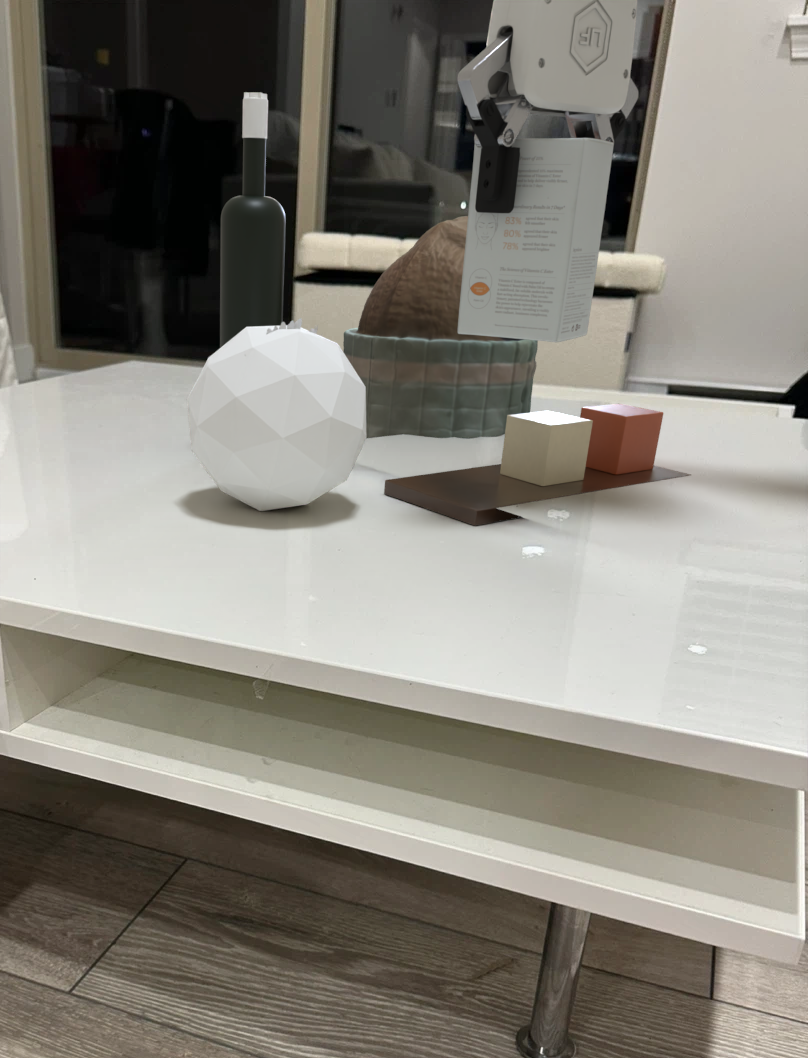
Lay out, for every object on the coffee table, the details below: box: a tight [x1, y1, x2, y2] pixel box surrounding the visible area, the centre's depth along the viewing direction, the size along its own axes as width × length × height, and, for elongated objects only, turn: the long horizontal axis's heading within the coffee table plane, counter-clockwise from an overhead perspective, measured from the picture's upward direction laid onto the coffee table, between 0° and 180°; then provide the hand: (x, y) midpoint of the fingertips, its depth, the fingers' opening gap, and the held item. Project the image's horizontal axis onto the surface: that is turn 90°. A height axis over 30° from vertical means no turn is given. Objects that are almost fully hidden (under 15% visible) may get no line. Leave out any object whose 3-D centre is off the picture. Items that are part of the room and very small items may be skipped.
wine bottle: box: [219, 91, 287, 349], centre depth 96 cm, size 6×6×30 cm
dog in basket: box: [342, 215, 539, 440], centre depth 111 cm, size 23×25×22 cm
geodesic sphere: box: [186, 317, 367, 512], centre depth 82 cm, size 15×14×14 cm
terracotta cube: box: [579, 403, 664, 475], centre depth 94 cm, size 5×5×5 cm
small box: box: [458, 137, 615, 343], centre depth 77 cm, size 8×6×13 cm
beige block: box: [500, 410, 593, 486], centre depth 89 cm, size 5×5×5 cm
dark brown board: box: [383, 463, 692, 526], centre depth 91 cm, size 26×11×1 cm, turn 123°
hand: (536, 212), depth 76 cm, fingers closed on small box, 8 cm apart
